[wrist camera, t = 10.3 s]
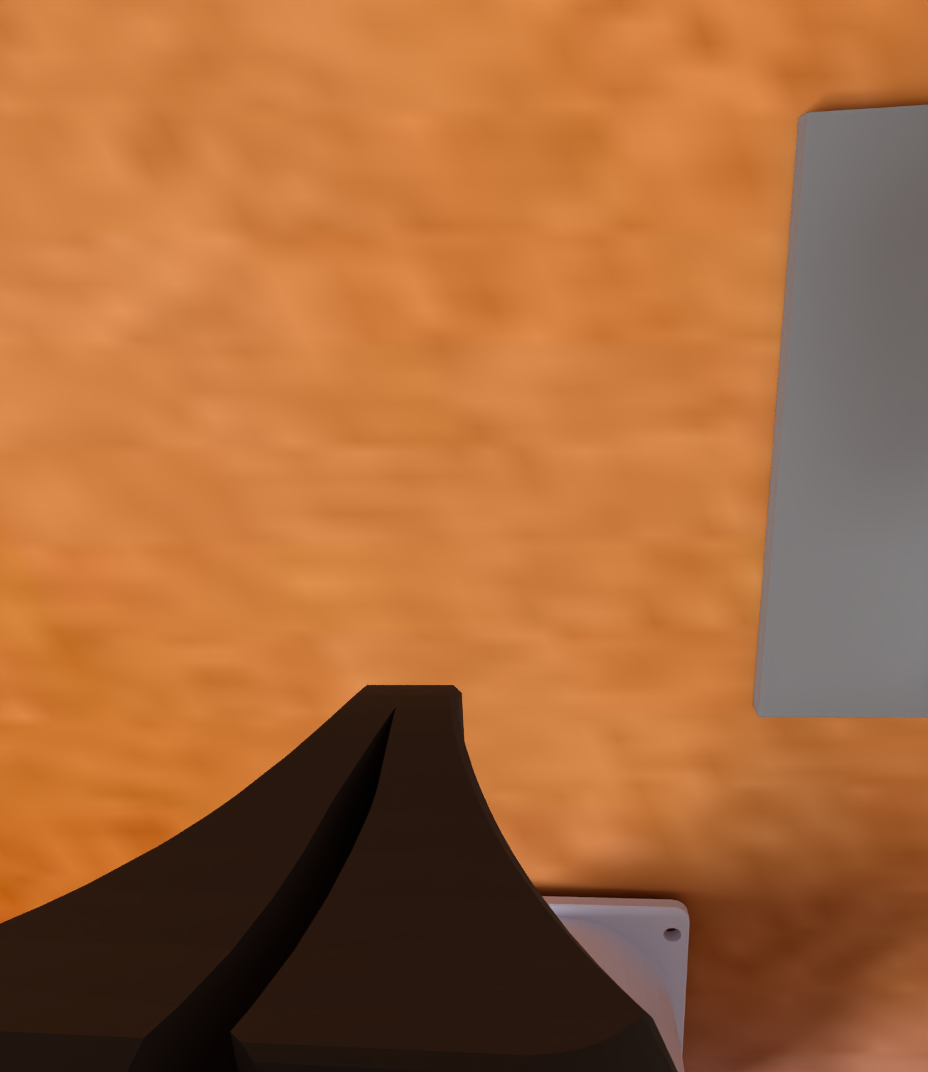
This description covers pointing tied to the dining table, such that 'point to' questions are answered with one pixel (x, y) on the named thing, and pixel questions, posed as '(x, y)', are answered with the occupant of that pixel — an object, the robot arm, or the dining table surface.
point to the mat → (851, 428)
